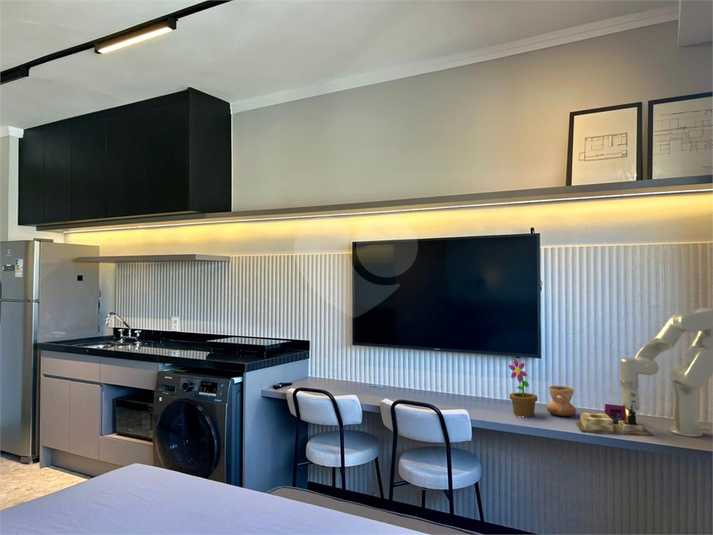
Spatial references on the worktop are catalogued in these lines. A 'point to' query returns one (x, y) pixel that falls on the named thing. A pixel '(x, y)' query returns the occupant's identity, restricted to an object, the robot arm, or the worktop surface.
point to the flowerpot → (522, 394)
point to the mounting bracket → (615, 411)
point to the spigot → (626, 416)
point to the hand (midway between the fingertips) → (630, 422)
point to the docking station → (608, 425)
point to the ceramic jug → (561, 401)
